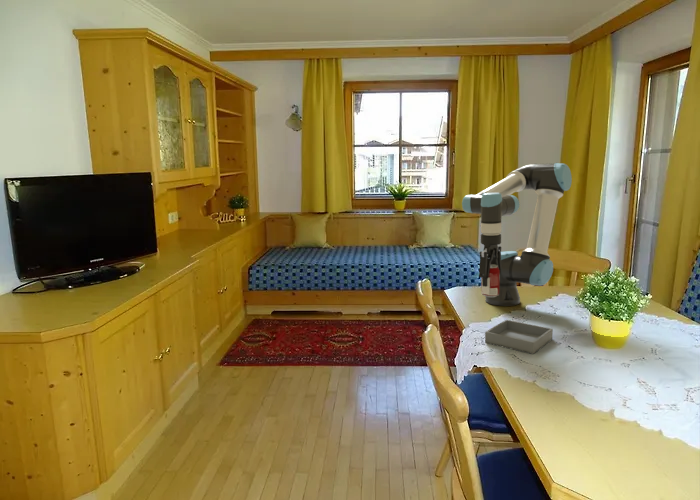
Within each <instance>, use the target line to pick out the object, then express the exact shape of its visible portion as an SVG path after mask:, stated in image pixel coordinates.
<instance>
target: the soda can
mask: <svg viewBox="0 0 700 500" xmlns="http://www.w3.org/2000/svg"><path fill="white" fill-rule="evenodd" d="M488 278H490V294H489V295H487V294H482V278H481V277H480V279H481V280H480V281H481V283H480V284H481V285H480V287H481V288H480V289H481V290H480V291H481V292H480V294H481V296H484V297H485V298H486V297H496V296H498V295H499V279H500V270H499V269H498V265H495V264H491V265H490V271H489V277H488Z"/></svg>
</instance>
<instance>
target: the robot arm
mask: <svg viewBox="0 0 700 500" xmlns="http://www.w3.org/2000/svg"><path fill="white" fill-rule="evenodd" d="M572 177H573V176H572V172H571V169H570V167H569V166H568V164H566V163H562V162H561V163H558V162H554V163H551V162H549V163H548V162H547V163H529V164H526V165H523V166H520V167H518V168H516V169H515V170H512V171H511V172H509V173H508V174H507V175H506V177H505V178H503V179H501V180H499V181H498V182H496V183H494V184H492V185H491V186H489V187H487V188H486V189H483V190H481V191H480V192H478V193H477V194H472V193H471V194H467V195H465V196H464V197H462V201H461V206H462V211H464V212H465V213H468V214H479V215H480V225H479V226H480V233H481V234H480V244H482V245H483V246H484V247H483V251H479V267H478V268H479V269H478V270H479V271H478V272H479V273H478V276H479V278H480V279H481V278H482V294H487V295H489V294H490V278H488V277H489V271H490V265H491V264H495V265H498V269H499V270H500V279H499V295H498V296H496V297H485V302H486V303H487V304H490V305H492V306H493V305H494V306H501V307H511V306H512V307H513V306H517V305H519V304H521V303H520V302H521V296H520V292H519V290H518V287H517V283H519V284H520V283H522V284H526V285H530V286H539V287H540V286H544V285H546V284H547V283H549V281H550V279H551V277H552V275H553V272H554V263H553V261H552V260H551V259H550V258H551V256H550V254H549V253H548V251H549V245H550V240H551V237H552V233H553V232H552V231H553V227H554V226H553V225H554V220H555V217H556V212H557V209H558V208H557V207H558V202H559V199H560V198H562V197H563V196H564V193H565V192H567V191H569V190H570V188H571V186H572V181H573V180H572ZM524 190H530V191H531V190H534V193H535V194H536V195H537V197H536V198H537V199H536V204H535V208H534V212H533V216H532V221H531V227H530V230H529V236H528V240H527V244H526V248H525V249H524V250H522V251H521V254H520V255H519V254H518V253H519V252H518V251H515V250H507V251H502V246H501V245H500V244H501V243H502V234H501V233H502V217H505V216H510V215H514V214H515V213H517V212H518V210H519V209H520V206H521V205H520V204H521V203H520V201H519V199H518V197H517V196H515V195H513V194H514V193H519V192H522V191H524ZM482 294H481V295H482Z"/></svg>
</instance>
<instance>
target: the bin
mask: <svg viewBox="0 0 700 500" xmlns="http://www.w3.org/2000/svg"><path fill="white" fill-rule="evenodd" d="M553 333H554V330H553V328H552V327H551V328H549V327H544V326H541V325H535V324H531V323H525V322H521V321H514V320H511V319H504V320H503V321H501V322H500V323H498V324H496V325H494V326H493V327H491V328H490V329H487V330H486V331H485V333H484V335H485V336H484V343H485V344H490V345H493V344H494V346H497V345H498V346H497V347H501V346H503V347H502V348H505V347H506V348H505V349H510V348H511V349H510V350H515V351H518V352H523V353H526V354H530V355H534V354H536V353H537V352H538V351H539V350H541V349H542V348H544V347H545V346H546V345H547V344H548V343H550V342H551V341H552V340H553Z"/></svg>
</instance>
